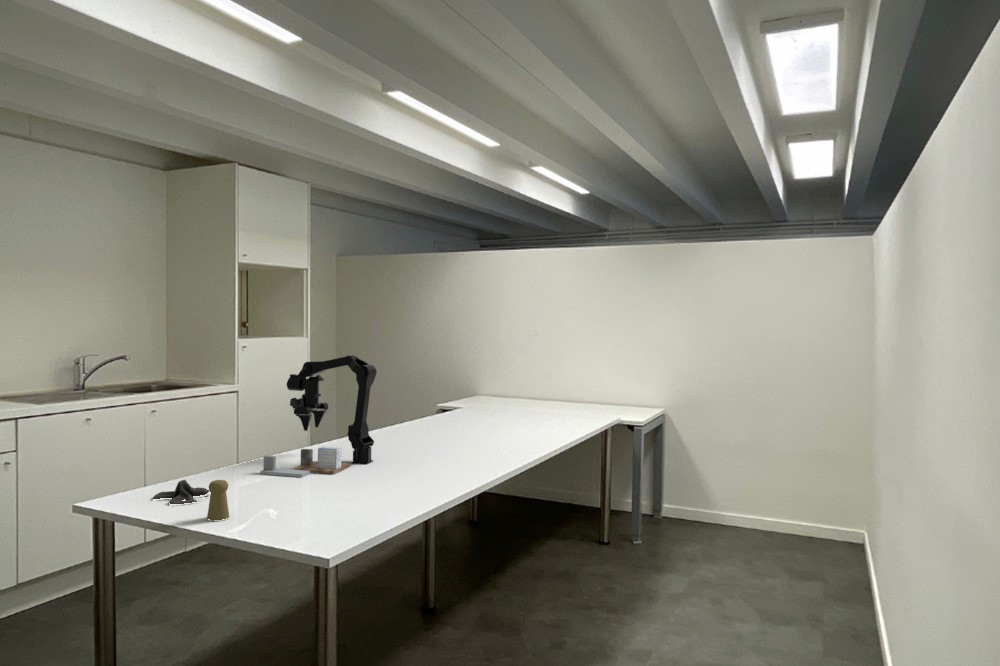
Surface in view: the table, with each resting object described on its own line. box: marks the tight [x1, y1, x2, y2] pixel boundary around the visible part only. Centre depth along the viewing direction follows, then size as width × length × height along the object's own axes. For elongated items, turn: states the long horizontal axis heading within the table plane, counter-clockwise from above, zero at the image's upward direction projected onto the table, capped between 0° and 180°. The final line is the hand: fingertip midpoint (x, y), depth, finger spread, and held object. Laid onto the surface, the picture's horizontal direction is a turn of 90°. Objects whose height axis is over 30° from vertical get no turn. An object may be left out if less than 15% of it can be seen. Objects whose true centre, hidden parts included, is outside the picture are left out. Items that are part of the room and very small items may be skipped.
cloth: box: [152, 479, 209, 504], centre depth 220 cm, size 22×19×6 cm
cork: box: [206, 479, 230, 520], centre depth 197 cm, size 6×6×11 cm
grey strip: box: [259, 455, 311, 478], centre depth 252 cm, size 17×6×6 cm, turn 77°
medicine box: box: [317, 445, 342, 470], centre depth 260 cm, size 8×4×9 cm, turn 78°
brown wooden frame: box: [292, 448, 351, 475], centre depth 262 cm, size 17×14×7 cm
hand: (311, 429), depth 282 cm, fingers open, 9 cm apart
